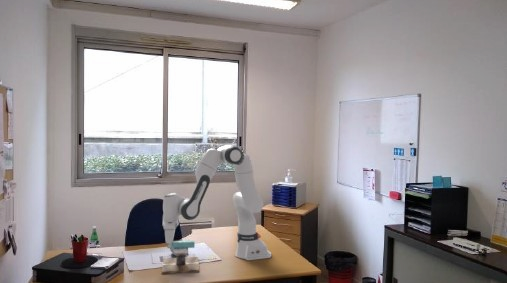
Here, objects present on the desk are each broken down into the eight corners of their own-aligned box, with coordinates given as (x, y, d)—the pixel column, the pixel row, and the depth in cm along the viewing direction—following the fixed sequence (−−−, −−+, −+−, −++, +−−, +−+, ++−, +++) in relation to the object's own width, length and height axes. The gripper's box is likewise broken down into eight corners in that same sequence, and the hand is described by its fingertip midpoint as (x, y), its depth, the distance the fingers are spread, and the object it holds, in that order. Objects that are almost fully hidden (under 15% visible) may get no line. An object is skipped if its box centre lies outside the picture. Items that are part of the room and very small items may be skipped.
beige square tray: (198, 258, 222) (198, 247, 221) (199, 272, 202) (199, 259, 202) (163, 260, 218) (164, 248, 218) (161, 273, 198) (161, 261, 198)
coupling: (168, 251, 213) (168, 239, 212) (194, 250, 215) (194, 239, 214) (166, 256, 205) (166, 244, 204) (194, 255, 207) (194, 243, 206)
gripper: (166, 217, 218) (166, 240, 218) (163, 226, 198) (163, 252, 198) (177, 217, 219) (177, 240, 219) (175, 226, 199) (175, 252, 199)
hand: (170, 246), depth 209 cm, fingers closed on coupling, 2 cm apart
